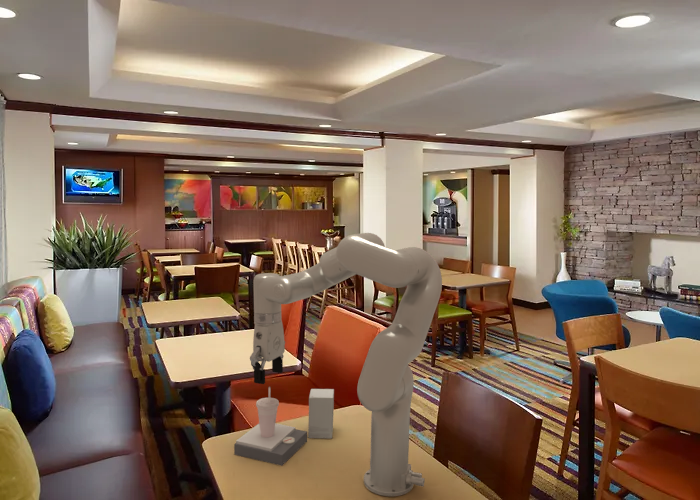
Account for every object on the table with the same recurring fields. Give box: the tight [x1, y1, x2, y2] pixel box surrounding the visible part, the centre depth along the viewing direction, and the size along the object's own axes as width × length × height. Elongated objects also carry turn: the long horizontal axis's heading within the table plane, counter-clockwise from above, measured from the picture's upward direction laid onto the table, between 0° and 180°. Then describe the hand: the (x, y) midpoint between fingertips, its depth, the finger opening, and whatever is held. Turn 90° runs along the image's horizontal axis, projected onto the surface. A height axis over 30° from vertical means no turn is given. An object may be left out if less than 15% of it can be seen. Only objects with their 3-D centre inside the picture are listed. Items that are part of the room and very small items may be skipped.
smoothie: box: [255, 386, 280, 437], centre depth 144 cm, size 6×6×14 cm
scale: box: [233, 422, 308, 467], centre depth 145 cm, size 15×15×4 cm
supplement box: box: [307, 388, 335, 439], centre depth 154 cm, size 7×7×13 cm
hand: (268, 377), depth 143 cm, fingers open, 9 cm apart
